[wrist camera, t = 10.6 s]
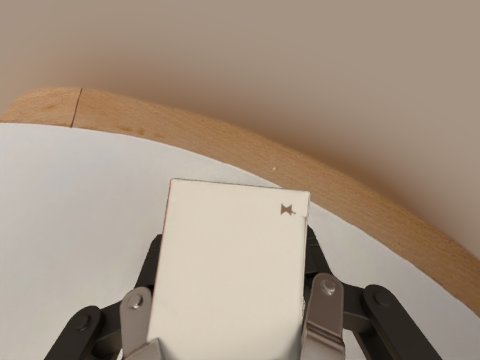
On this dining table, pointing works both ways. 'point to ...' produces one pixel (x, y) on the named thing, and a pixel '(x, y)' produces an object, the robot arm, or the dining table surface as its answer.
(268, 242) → the small box
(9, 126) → the dining table surface
